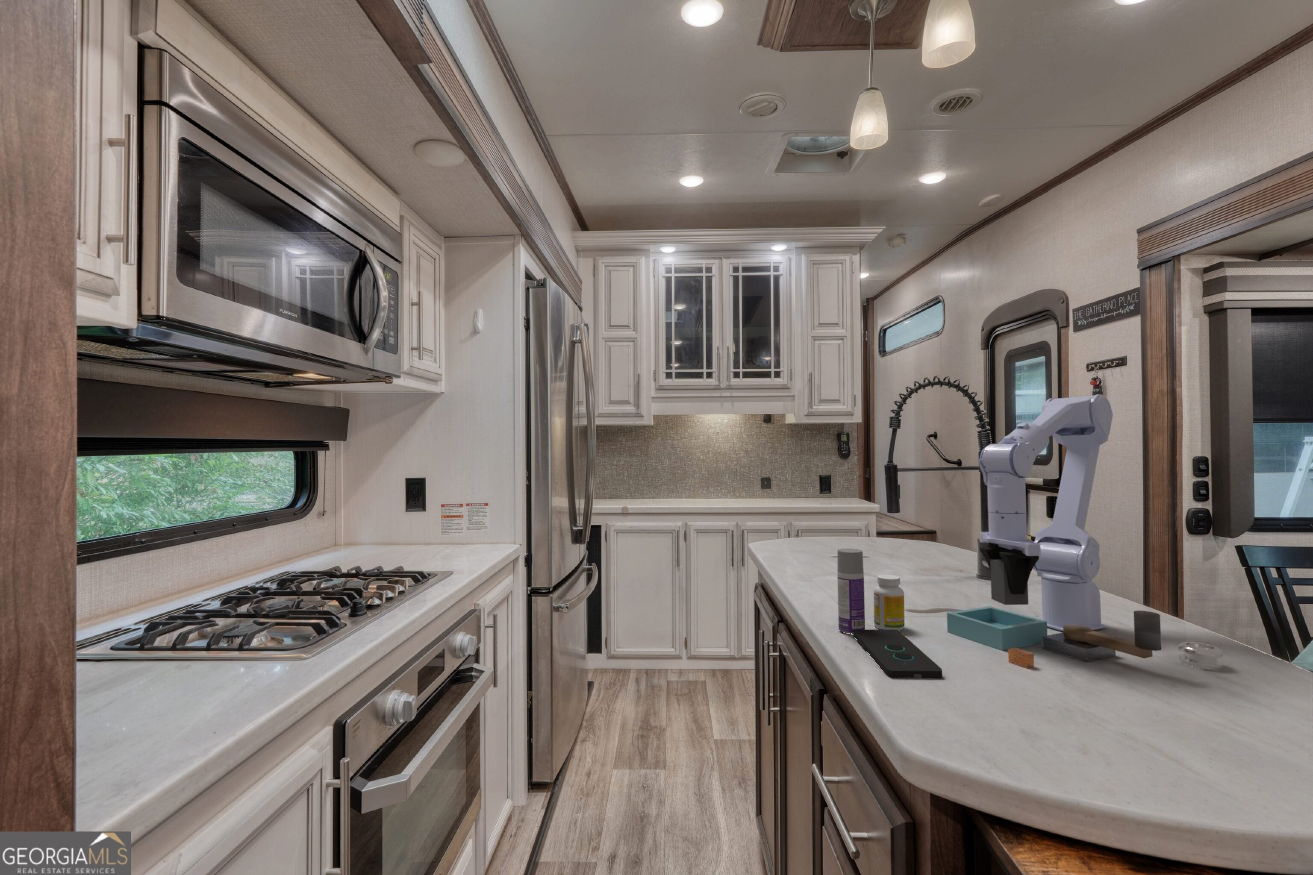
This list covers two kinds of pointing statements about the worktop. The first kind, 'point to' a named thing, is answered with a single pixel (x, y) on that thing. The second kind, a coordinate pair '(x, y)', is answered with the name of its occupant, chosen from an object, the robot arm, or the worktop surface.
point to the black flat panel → (897, 654)
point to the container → (850, 590)
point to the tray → (997, 627)
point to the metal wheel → (1200, 655)
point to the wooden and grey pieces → (1062, 650)
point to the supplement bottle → (889, 603)
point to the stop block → (1004, 586)
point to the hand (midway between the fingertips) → (1009, 590)
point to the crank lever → (1143, 646)
